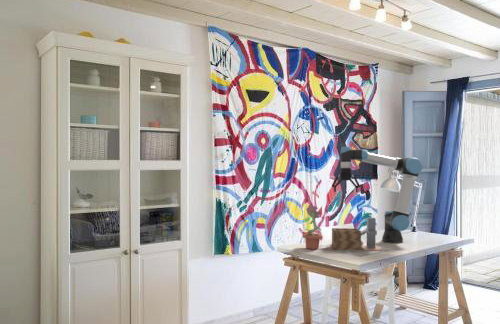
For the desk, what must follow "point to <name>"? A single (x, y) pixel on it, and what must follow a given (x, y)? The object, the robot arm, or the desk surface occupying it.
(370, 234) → the grey tall block
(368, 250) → the tile
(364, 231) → the door handle
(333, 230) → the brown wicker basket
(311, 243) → the decorative flower
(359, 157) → the robot arm
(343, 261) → the desk surface
